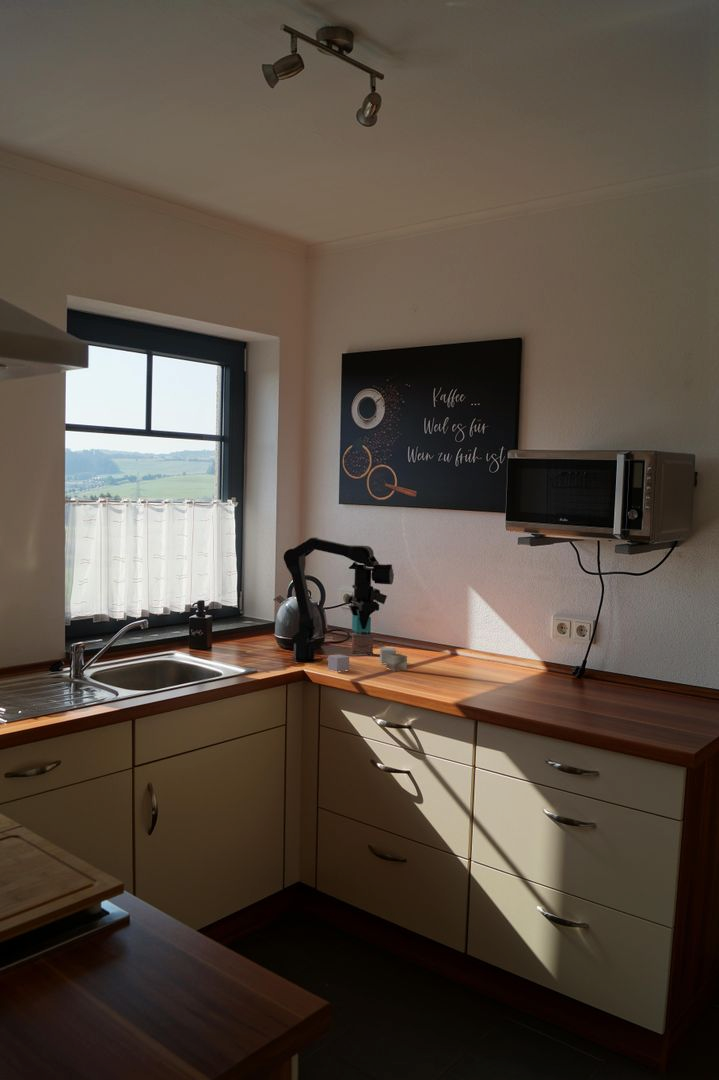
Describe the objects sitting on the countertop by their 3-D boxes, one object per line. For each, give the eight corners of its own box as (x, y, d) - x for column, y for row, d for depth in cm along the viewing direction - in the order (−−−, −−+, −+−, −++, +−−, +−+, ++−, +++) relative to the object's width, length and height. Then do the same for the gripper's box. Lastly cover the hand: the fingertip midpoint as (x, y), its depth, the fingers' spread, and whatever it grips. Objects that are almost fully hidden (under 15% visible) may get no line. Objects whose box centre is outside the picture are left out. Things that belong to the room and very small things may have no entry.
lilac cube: (336, 673, 288) (337, 658, 288) (327, 670, 292) (328, 655, 292) (348, 671, 291) (349, 656, 291) (339, 668, 295) (340, 654, 295)
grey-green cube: (393, 672, 293) (394, 657, 293) (386, 668, 297) (386, 654, 297) (406, 670, 295) (407, 656, 295) (398, 667, 300) (399, 653, 299)
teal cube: (356, 632, 298) (357, 617, 297) (351, 629, 302) (352, 615, 302) (370, 631, 299) (370, 617, 299) (365, 629, 304) (366, 615, 304)
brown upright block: (373, 653, 322) (374, 626, 321) (372, 655, 319) (373, 628, 318) (351, 652, 323) (352, 625, 322) (350, 654, 320) (351, 627, 319)
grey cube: (381, 664, 304) (381, 650, 304) (379, 661, 309) (380, 647, 309) (395, 664, 305) (396, 650, 304) (393, 661, 310) (394, 647, 309)
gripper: (394, 585, 293) (392, 632, 294) (375, 579, 311) (374, 622, 312) (363, 586, 290) (361, 632, 291) (345, 579, 307) (344, 623, 309)
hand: (361, 627), depth 301 cm, fingers closed on teal cube, 5 cm apart
